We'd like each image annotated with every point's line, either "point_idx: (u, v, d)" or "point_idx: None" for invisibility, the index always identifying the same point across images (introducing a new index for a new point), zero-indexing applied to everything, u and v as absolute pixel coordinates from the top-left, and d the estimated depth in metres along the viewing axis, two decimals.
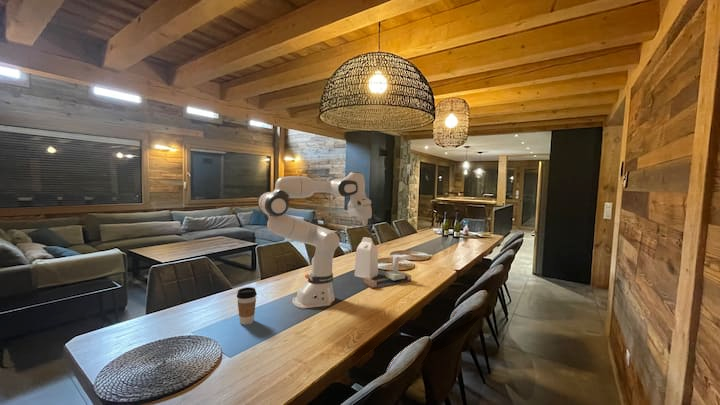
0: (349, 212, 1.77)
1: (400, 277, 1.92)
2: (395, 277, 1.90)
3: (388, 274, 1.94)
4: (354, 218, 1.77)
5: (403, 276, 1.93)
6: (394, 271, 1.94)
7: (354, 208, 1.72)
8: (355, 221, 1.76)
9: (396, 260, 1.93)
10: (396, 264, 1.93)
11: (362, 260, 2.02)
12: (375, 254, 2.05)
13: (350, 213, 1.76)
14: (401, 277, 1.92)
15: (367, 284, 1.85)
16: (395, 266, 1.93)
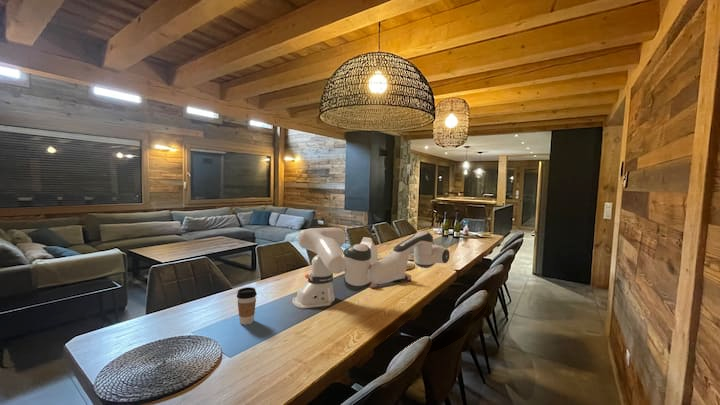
0: None
1: (400, 277, 1.92)
2: None
3: None
4: None
5: (403, 276, 1.93)
6: None
7: None
8: None
9: None
10: None
11: None
12: (375, 254, 2.05)
13: None
14: (401, 277, 1.92)
15: None
16: None
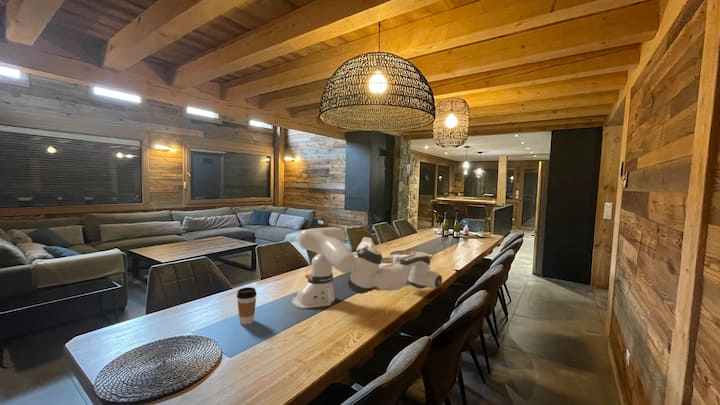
0: None
1: None
2: None
3: None
4: None
5: None
6: None
7: None
8: None
9: (396, 260, 1.93)
10: None
11: None
12: None
13: None
14: None
15: None
16: None
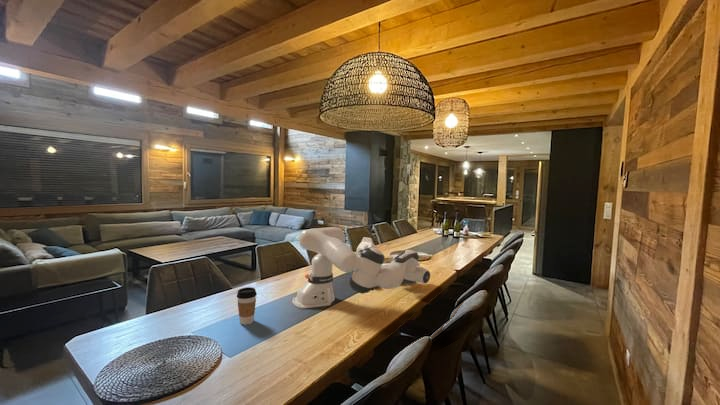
0: None
1: None
2: None
3: None
4: None
5: None
6: None
7: None
8: None
9: None
10: None
11: None
12: None
13: None
14: None
15: None
16: None
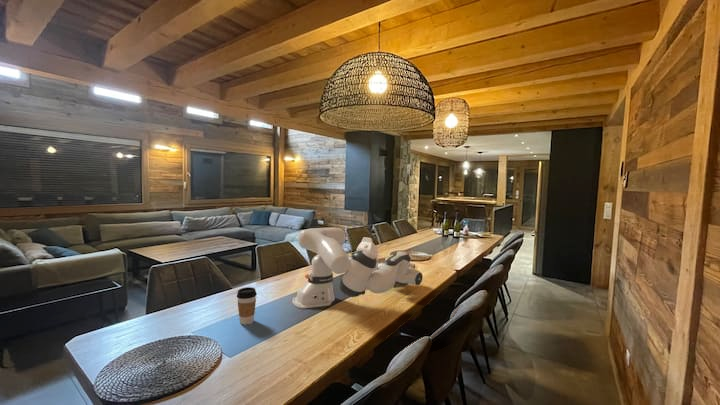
0: None
1: None
2: None
3: None
4: None
5: None
6: None
7: None
8: None
9: None
10: None
11: None
12: (375, 254, 2.05)
13: None
14: None
15: None
16: None
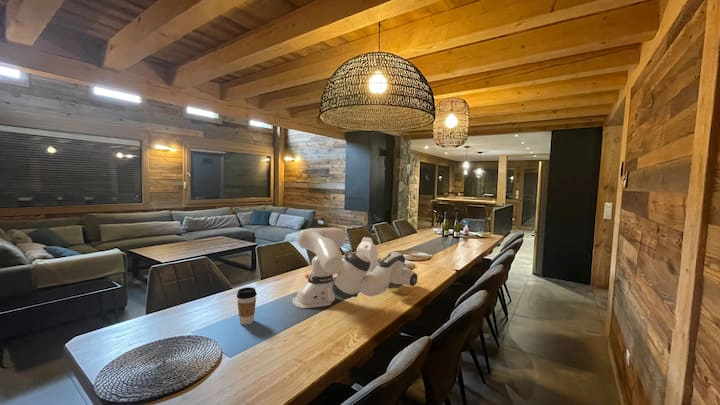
0: None
1: None
2: None
3: None
4: None
5: None
6: None
7: None
8: None
9: None
10: None
11: None
12: (375, 254, 2.05)
13: None
14: None
15: None
16: None
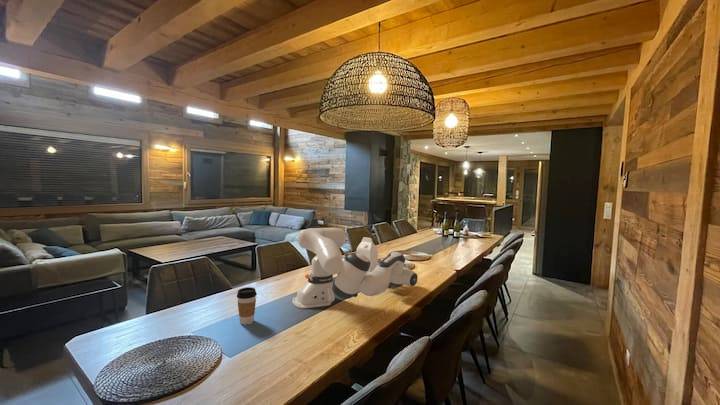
0: None
1: None
2: None
3: None
4: None
5: None
6: None
7: None
8: None
9: None
10: None
11: None
12: (375, 254, 2.05)
13: None
14: None
15: None
16: None
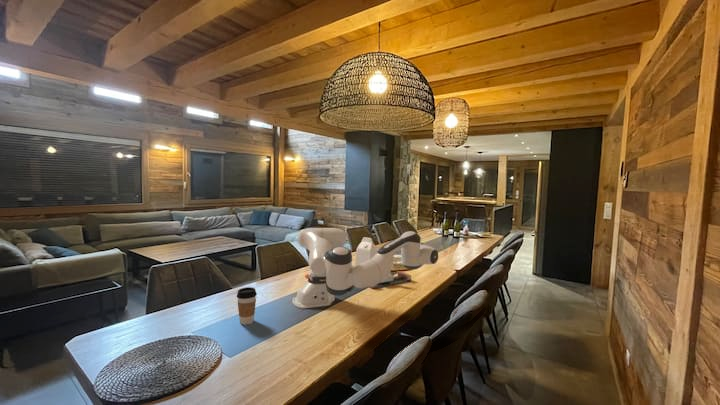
0: None
1: (388, 279, 1.87)
2: None
3: None
4: None
5: (391, 278, 1.88)
6: None
7: None
8: None
9: None
10: None
11: (362, 260, 2.02)
12: None
13: None
14: (389, 279, 1.87)
15: None
16: None
